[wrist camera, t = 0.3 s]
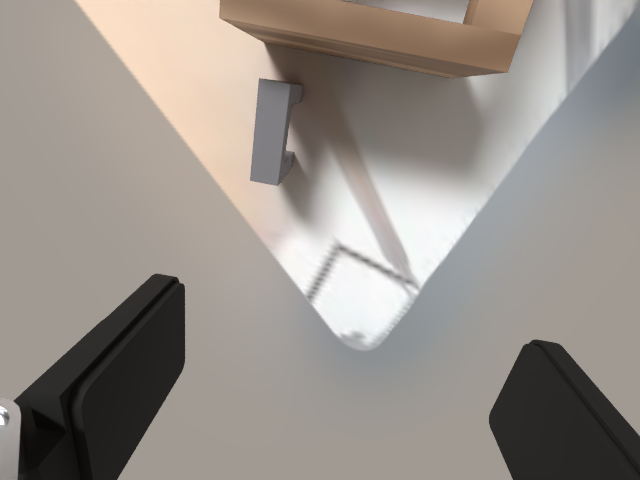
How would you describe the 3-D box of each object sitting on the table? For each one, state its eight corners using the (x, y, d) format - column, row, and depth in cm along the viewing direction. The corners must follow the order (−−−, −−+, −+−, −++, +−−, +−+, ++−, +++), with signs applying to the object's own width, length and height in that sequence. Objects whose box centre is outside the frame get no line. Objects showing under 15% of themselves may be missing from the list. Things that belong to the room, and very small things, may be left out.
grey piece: (278, 80, 33) (259, 78, 26) (303, 85, 33) (290, 84, 26) (269, 162, 36) (250, 180, 29) (292, 166, 36) (277, 185, 29)
